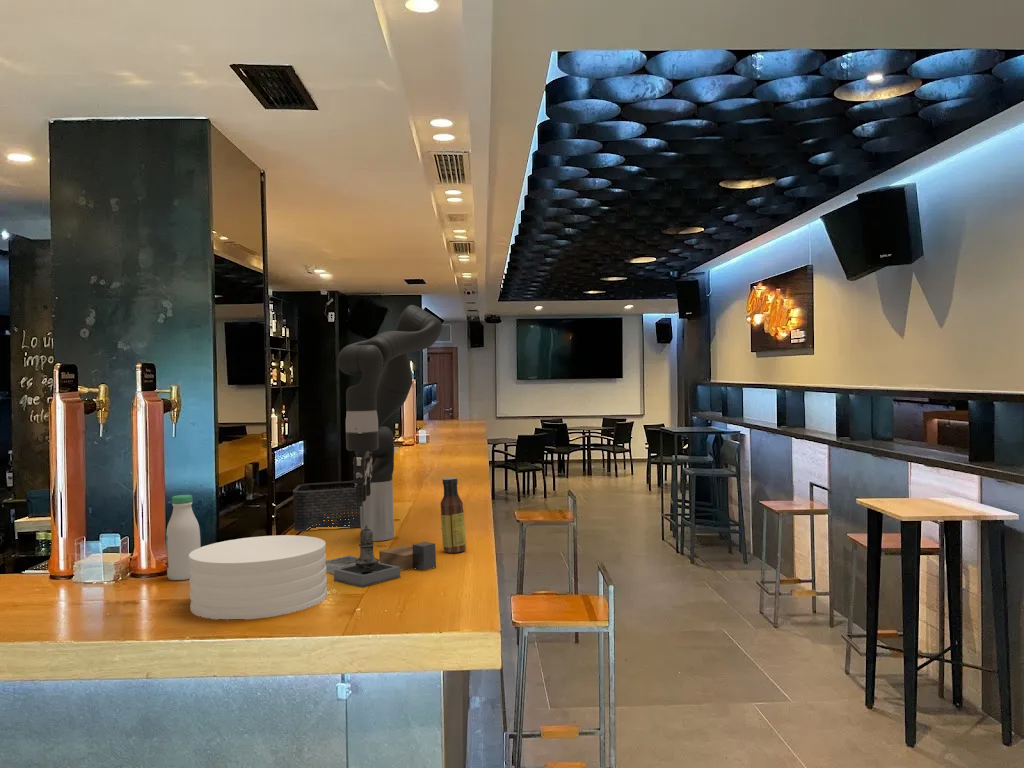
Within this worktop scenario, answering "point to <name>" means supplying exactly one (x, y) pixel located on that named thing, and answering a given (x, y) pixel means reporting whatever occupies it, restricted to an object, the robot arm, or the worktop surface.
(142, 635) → the worktop surface
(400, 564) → the brown rectangular block
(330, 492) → the storage bin
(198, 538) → the milk bottle
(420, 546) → the block
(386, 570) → the tray
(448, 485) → the sauce bottle
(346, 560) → the holder
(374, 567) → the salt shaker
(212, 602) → the plate stack
